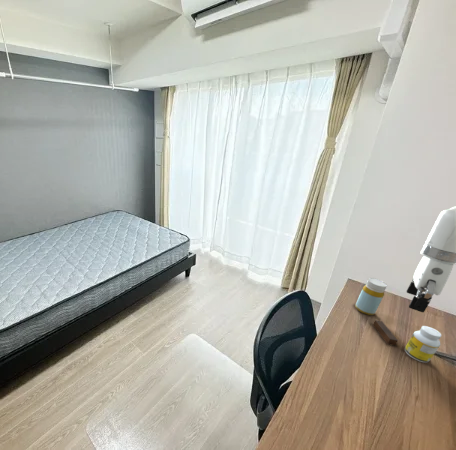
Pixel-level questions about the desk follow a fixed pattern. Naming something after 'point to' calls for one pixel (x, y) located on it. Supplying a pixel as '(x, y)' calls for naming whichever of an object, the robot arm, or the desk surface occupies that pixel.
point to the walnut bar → (385, 332)
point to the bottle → (371, 296)
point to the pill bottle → (423, 344)
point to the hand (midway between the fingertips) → (414, 301)
